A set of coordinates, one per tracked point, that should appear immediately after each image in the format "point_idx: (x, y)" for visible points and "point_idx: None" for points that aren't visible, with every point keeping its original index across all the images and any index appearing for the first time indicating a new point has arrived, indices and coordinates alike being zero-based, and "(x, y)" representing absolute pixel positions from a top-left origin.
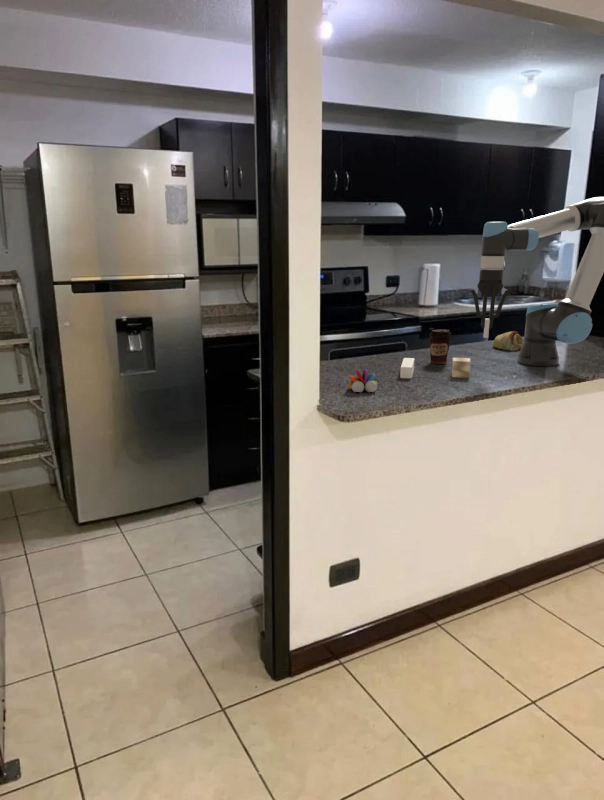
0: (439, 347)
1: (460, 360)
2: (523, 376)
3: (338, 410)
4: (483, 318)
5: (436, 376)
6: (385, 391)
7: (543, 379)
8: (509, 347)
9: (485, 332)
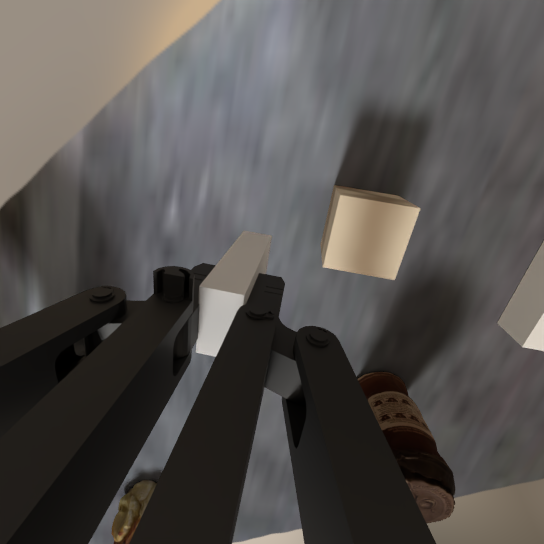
0: (404, 415)
1: (379, 220)
2: (143, 212)
3: None
4: (262, 307)
5: (458, 204)
6: None
7: (82, 170)
8: (152, 490)
9: (257, 245)
